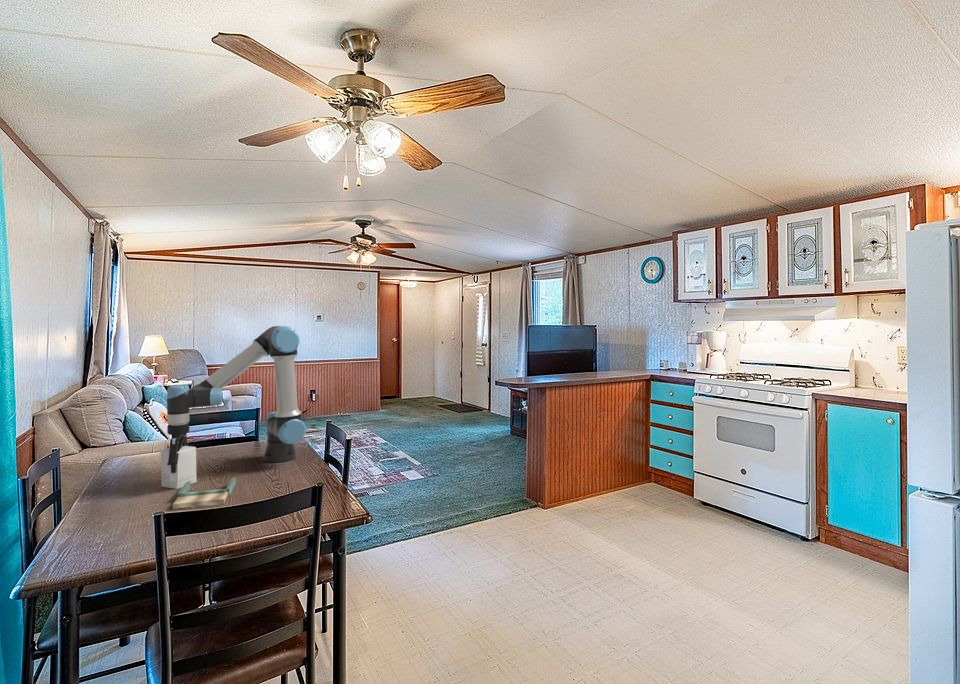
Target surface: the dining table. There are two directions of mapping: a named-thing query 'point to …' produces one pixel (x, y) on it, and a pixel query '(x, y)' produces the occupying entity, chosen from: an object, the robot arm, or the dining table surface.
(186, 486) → the green and wood frame
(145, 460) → the dining table surface
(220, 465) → the dining table surface
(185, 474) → the supplement box
